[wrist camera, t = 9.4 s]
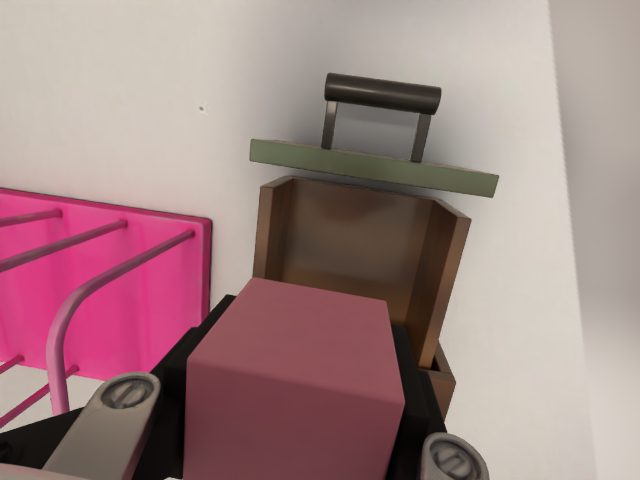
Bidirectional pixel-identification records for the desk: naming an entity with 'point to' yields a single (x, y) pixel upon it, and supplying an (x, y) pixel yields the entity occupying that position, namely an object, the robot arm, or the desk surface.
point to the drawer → (368, 216)
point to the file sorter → (95, 288)
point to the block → (293, 388)
